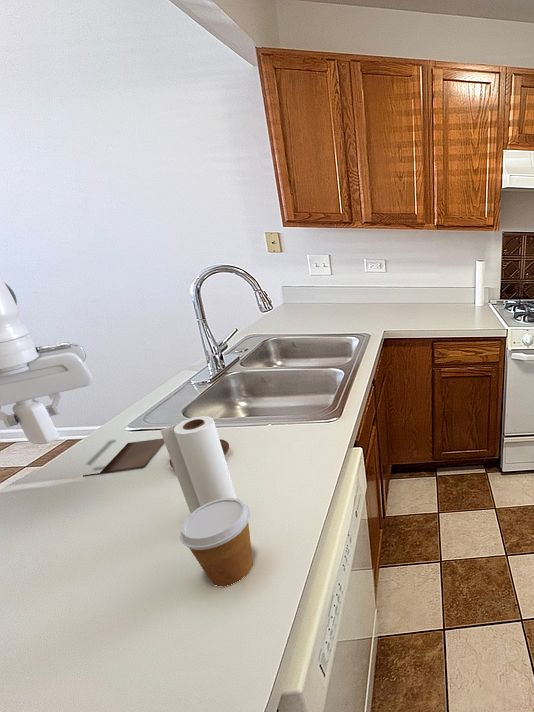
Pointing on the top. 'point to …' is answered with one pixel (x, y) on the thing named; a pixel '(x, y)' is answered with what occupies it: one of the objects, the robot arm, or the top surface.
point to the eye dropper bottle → (35, 421)
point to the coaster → (133, 456)
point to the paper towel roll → (198, 461)
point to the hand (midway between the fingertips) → (34, 419)
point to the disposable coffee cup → (220, 540)
